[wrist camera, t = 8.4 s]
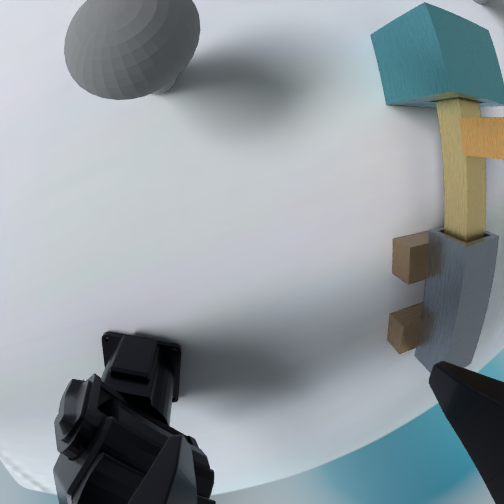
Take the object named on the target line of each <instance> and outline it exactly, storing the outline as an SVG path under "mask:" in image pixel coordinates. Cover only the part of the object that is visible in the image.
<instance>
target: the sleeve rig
mask: <svg viewBox="0 0 504 504" xmlns="http://www.w3.org/2000/svg"><path fill="white" fill-rule="evenodd" d="M371 39H372V43H373V46H374V50H375V54H376V58H377V62H378V66H379V71H380V75H381V80H382V85H383V90H384V95H385V100H386V105H402V106H416V107H428V108H437V107H436V101H435V100H441V99H447V98H454V97H462V98H467V99H471V100H476V101H478V102H479V107H489V106H504V83H503V79H502V74H501V70H500V66H499V63H498V59H497V55H496V52H495V49H494V46H493V42H492V39H491V36H490V33H489V31H488V30H487V29H485V28H483V27H481V26H479V25H477V24H475V23H473V22H471V21H469V20H467V19H464V18H462V17H460V16H458V15H456V14H453V13H451V12H448V11H446V10H444V9H441V8H438V7H436V6H433V5H431V4H428V3H425V2H424V3H423V4H421V5H419V6H417V7H415V8H414V9H412V10H410V11H408V12H407V13H405V14H403V15H402V16H400V17H398V18H397V19H395V20H393V21H392V22H390V23H388V24H387V25H385V26H384V27H382V28H380V29H379V30H377V31H376V32H374V33H373V34H371ZM498 239H499V236H497V235H495V234H492V233H490V232H487V231H485V234H484V238H481V239H478V240H474V241H471V242H468V243H465V242H463V241H461V240H458V239H456V238H453V237H451V236H449V235H446V234H444V227H441V228H437V229H432V230H429V231H426V232H421V233H417V234H412V235H408V236H403V237H399V238H394V239H393V266H392V273H393V274H394V275H395V276H397V277H398V278H400V279H401V280H403V281H404V282H405V283H407V284H412V283H415V282H418V281H421V280H424V279H426V284H425V293H424V302H422V303H420V304H417V305H414V306H411V307H408V308H406V309H403V310H400V311H397V312H394V313H391V314H390V318H389V328H388V338H387V341H388V342H389V343H390V344H391V345H392V346H393V347H394V348H395V350H396V351H397V352H398V353H399V354H402V353H404V352H407V351H409V350H411V349H414V348H416V351H415V357H416V358H417V359H418V360H419V361H420V362H421V363H422V364H423V365H424V366H425V367H426V369H427V370H428V371H429V372H430V373H431V371H432V367H433V365H434V364H436V363H438V362H440V361H446V362H449V363H451V364H454V365H457V366H459V367H462V368H464V367H466V366H468V365H469V364H471V361H472V358H473V355H474V352H475V349H476V346H477V343H478V340H479V336H480V333H481V329H482V326H483V322H484V318H485V314H486V310H487V306H488V302H489V297H490V292H491V287H492V282H493V276H494V270H495V264H496V256H497V248H498Z"/></svg>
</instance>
